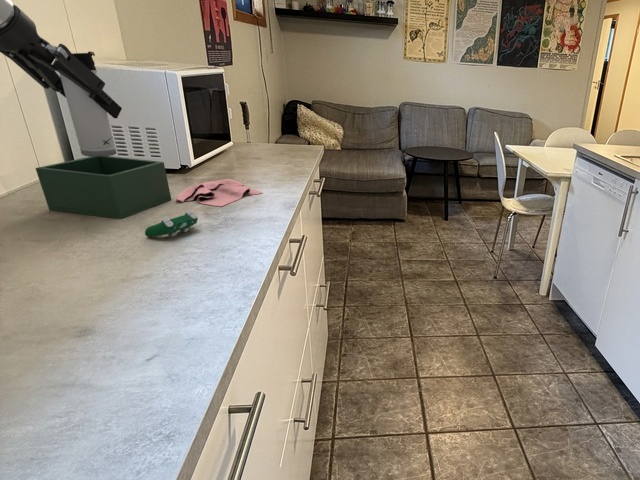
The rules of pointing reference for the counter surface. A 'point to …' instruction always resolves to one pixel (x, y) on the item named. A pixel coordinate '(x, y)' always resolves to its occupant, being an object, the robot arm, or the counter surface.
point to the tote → (104, 186)
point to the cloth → (216, 192)
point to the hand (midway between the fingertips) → (104, 111)
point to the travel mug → (88, 115)
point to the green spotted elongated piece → (172, 225)
